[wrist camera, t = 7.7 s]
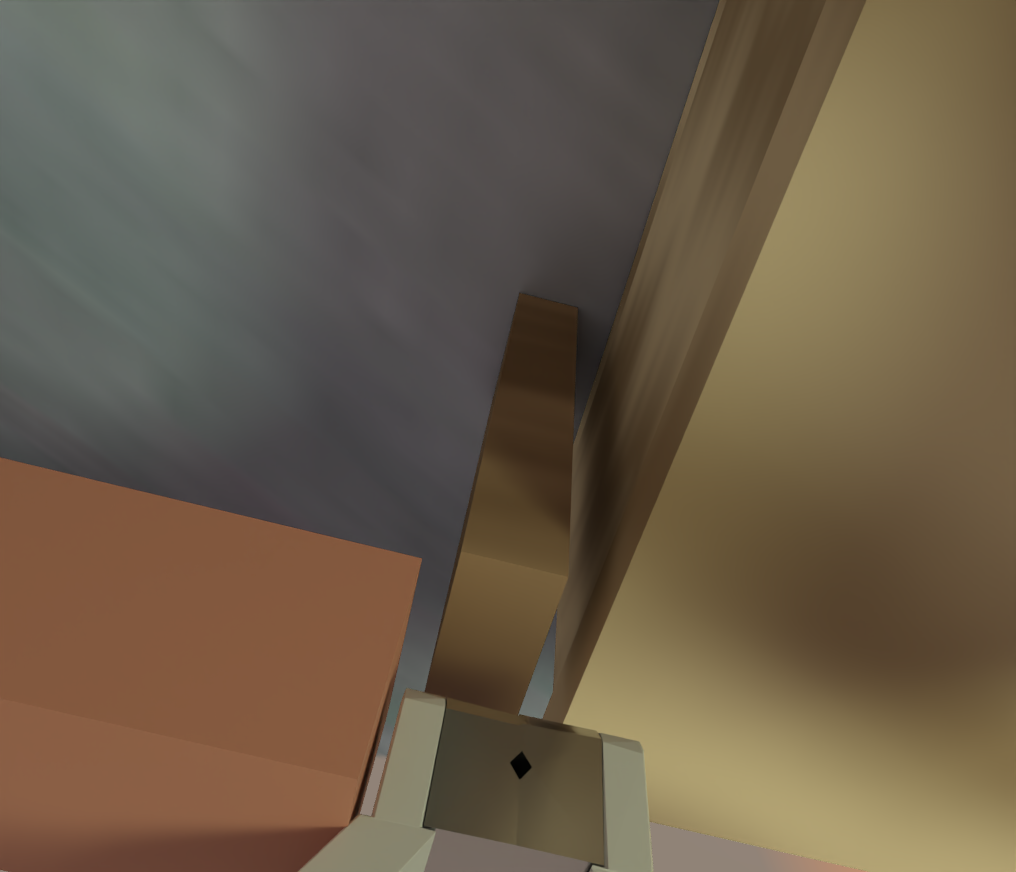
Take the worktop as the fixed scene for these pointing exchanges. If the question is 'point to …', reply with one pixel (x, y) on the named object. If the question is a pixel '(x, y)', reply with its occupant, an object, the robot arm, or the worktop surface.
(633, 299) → the toolbox
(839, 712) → the toolbox lid
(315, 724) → the bar
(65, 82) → the worktop surface
